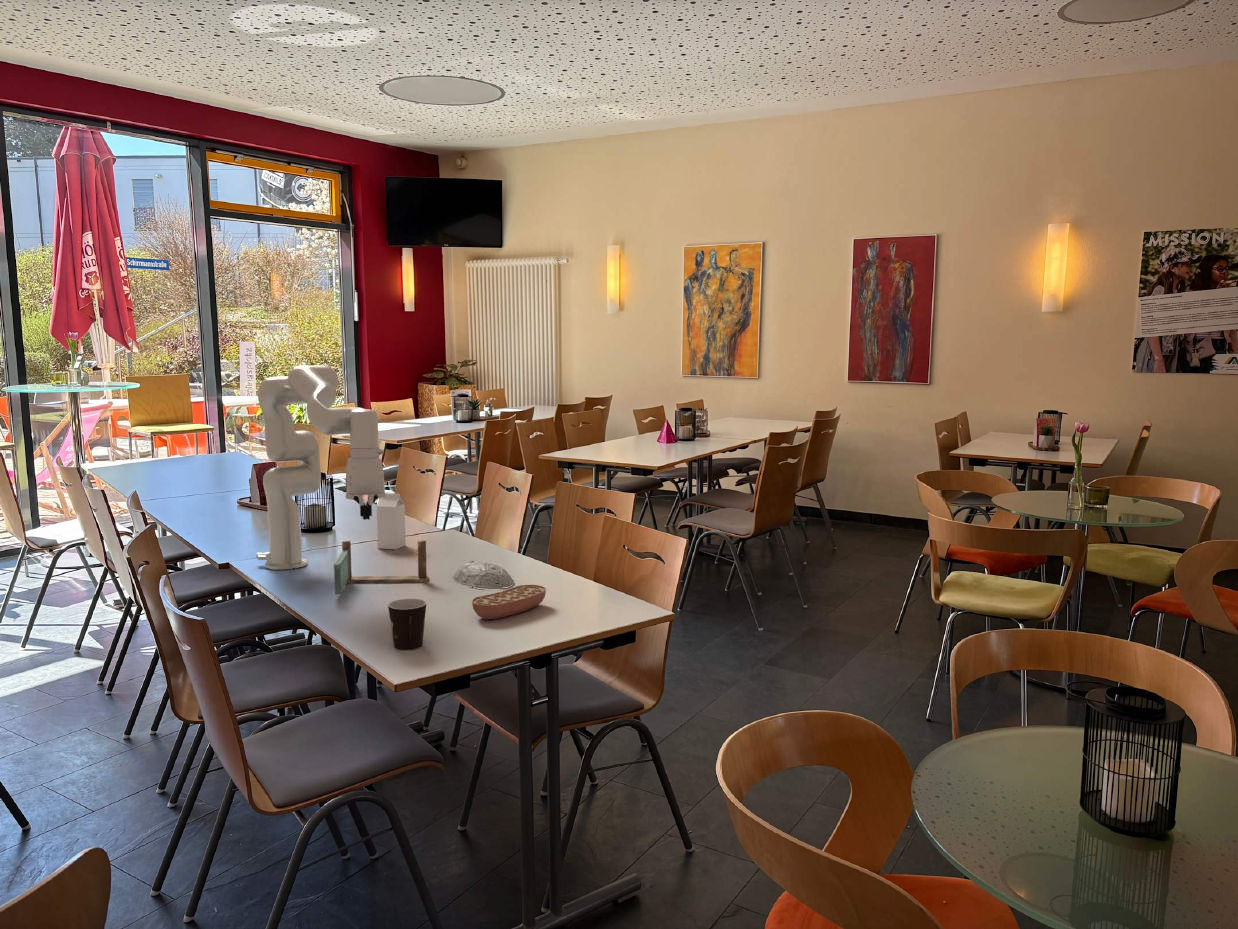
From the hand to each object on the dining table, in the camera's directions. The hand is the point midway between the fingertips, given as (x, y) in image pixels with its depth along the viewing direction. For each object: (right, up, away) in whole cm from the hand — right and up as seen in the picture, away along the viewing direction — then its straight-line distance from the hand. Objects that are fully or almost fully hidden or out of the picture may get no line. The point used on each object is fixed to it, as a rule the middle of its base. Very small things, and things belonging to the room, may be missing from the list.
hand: (366, 518), depth 243 cm
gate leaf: (-8, -19, +3) cm, 21 cm away
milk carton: (-8, -14, +60) cm, 62 cm away
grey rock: (+30, -20, +16) cm, 40 cm away
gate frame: (+1, -19, +15) cm, 24 cm away
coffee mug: (+22, -27, -44) cm, 56 cm away
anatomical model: (+43, -24, -16) cm, 51 cm away
